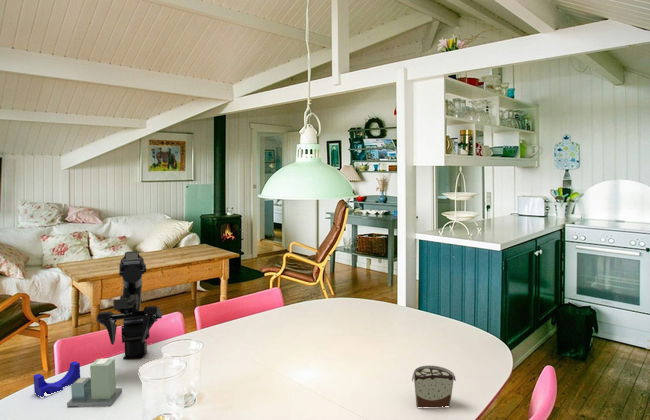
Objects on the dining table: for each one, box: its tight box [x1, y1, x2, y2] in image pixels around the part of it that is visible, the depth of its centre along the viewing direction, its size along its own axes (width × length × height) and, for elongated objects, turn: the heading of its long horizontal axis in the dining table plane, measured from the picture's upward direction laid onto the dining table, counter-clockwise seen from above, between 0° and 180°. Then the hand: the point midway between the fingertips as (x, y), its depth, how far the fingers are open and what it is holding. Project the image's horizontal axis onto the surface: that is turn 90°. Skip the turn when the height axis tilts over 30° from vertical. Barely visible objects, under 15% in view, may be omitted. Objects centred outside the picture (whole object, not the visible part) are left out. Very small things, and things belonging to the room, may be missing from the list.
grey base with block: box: [66, 377, 123, 407], centre depth 129 cm, size 12×8×6 cm, turn 93°
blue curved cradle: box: [33, 361, 81, 397], centre depth 135 cm, size 12×4×6 cm, turn 146°
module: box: [89, 357, 117, 399], centre depth 129 cm, size 5×4×10 cm
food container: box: [411, 365, 457, 408], centre depth 127 cm, size 12×6×10 cm, turn 92°
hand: (127, 342), depth 137 cm, fingers open, 9 cm apart
